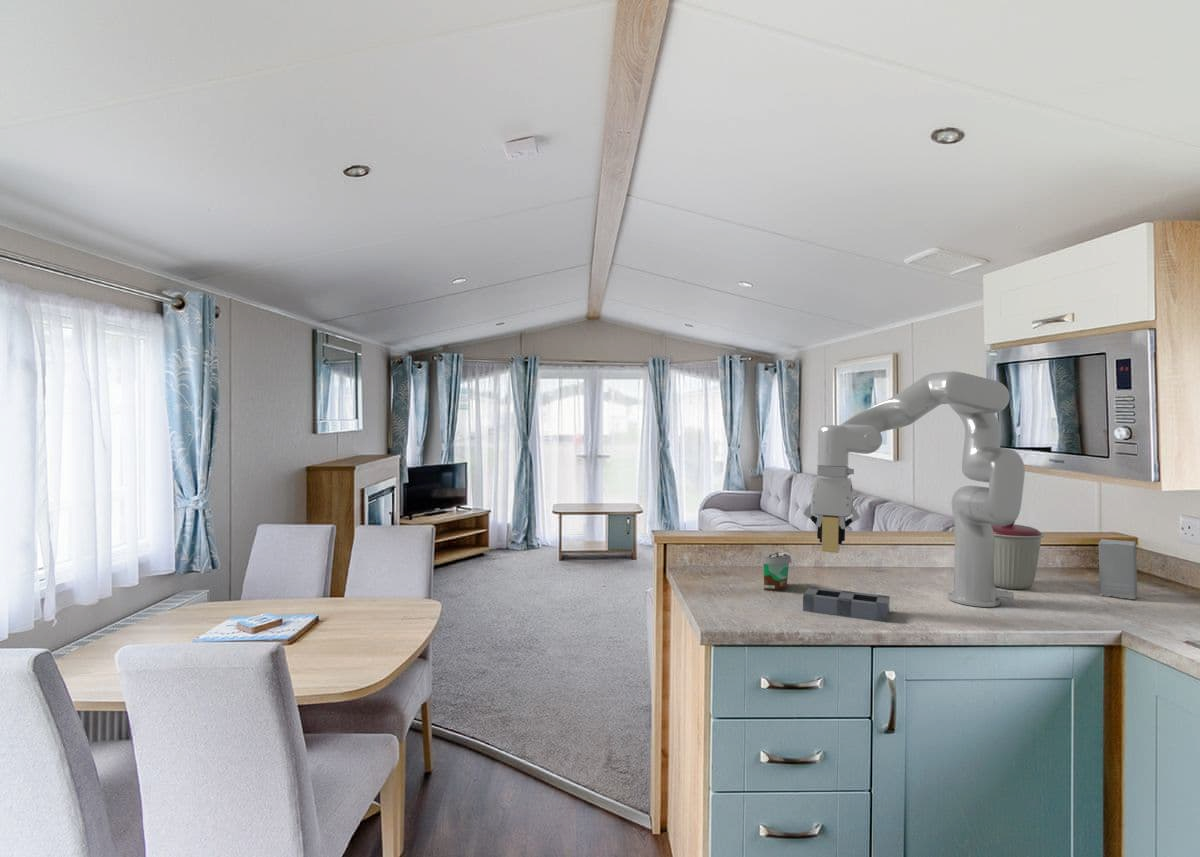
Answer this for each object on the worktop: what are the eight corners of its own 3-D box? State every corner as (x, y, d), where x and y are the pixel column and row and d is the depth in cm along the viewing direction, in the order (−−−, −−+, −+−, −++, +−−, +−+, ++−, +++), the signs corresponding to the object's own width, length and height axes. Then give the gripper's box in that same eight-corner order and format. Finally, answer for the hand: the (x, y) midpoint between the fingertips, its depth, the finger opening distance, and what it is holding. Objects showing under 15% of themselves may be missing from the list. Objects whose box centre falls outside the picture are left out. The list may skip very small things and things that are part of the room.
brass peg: (839, 550, 173) (840, 516, 173) (837, 553, 170) (838, 518, 169) (823, 548, 175) (824, 514, 175) (821, 551, 171) (822, 516, 171)
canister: (1057, 593, 190) (1058, 520, 190) (993, 592, 191) (995, 520, 190) (1018, 578, 208) (1020, 511, 208) (960, 577, 209) (962, 511, 208)
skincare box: (1137, 596, 188) (1138, 541, 188) (1135, 601, 183) (1136, 544, 182) (1100, 591, 194) (1101, 537, 193) (1097, 595, 188) (1098, 540, 188)
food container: (783, 594, 186) (784, 559, 186) (762, 591, 190) (763, 556, 190) (795, 585, 197) (796, 551, 197) (775, 582, 200) (776, 549, 200)
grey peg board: (889, 611, 171) (889, 596, 171) (887, 622, 162) (887, 605, 162) (809, 601, 180) (809, 586, 180) (802, 610, 171) (803, 595, 171)
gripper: (868, 473, 172) (866, 543, 172) (801, 470, 179) (800, 537, 179) (865, 475, 165) (864, 548, 165) (796, 471, 172) (795, 541, 173)
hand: (830, 541), depth 172 cm, fingers closed on brass peg, 4 cm apart
